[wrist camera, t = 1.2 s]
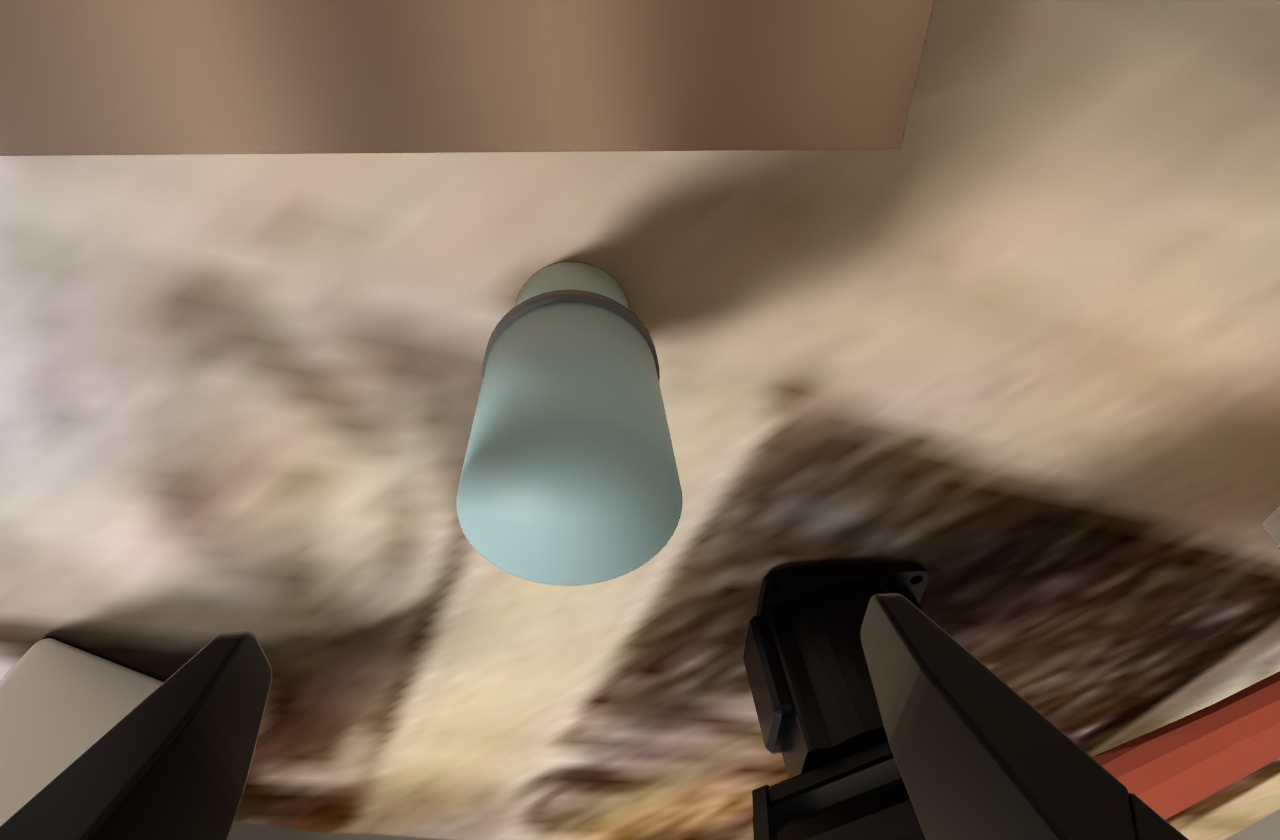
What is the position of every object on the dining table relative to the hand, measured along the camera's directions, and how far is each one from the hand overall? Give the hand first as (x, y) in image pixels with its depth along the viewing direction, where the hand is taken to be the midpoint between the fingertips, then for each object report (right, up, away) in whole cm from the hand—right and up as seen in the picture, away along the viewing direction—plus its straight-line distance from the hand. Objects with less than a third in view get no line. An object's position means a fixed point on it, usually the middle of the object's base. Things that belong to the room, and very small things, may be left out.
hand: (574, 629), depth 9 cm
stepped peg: (-1, +6, +9) cm, 11 cm away
